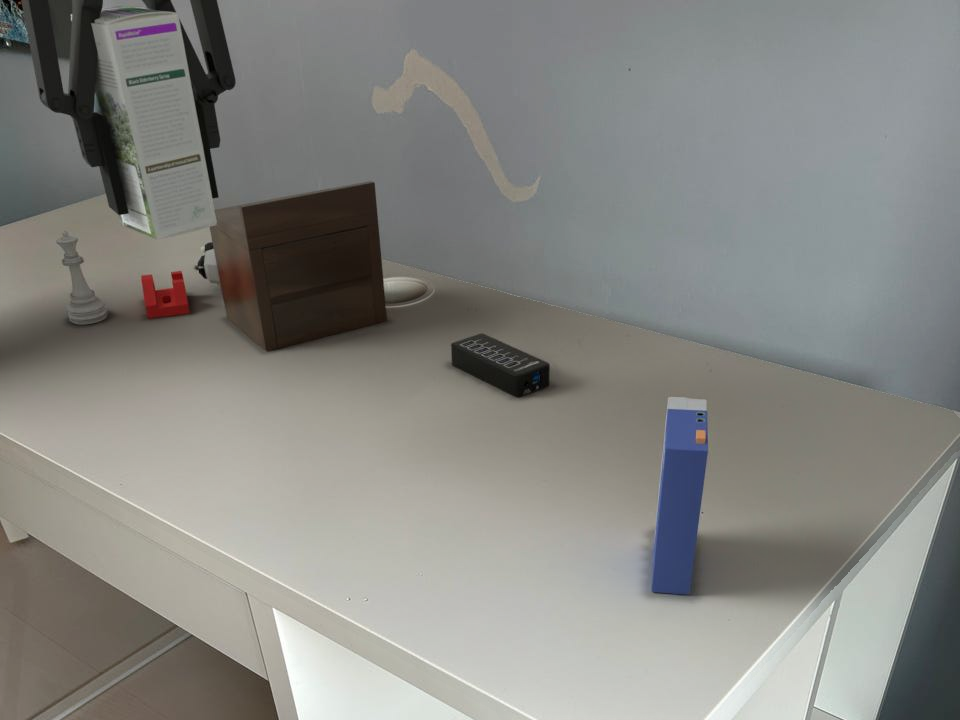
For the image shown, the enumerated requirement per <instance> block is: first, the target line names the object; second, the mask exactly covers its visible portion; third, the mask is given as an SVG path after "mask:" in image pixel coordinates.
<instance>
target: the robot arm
mask: <svg viewBox="0 0 960 720" xmlns="http://www.w3.org/2000/svg"><path fill="white" fill-rule="evenodd" d="M20 1H21V6H22V12H23V16H24V22H25V27H26V28H25V29H26V33H27V39H28V44H29V48H30V49H29V50H30V54H31V60H32V65H33V70H34V75H35V76H34V77H35V80H36V81H35V82H36V87H37V91H38V97H39V100H40V102H41V104H42V105H43V106H45V107H46V108H48V109H49V110H50V111H52V112H54V113H57V114H63V115H67V116H70V118H71V119H72V121H73V125H74V130H75V133H76V138H77V142H78V145H79V149H80V152H81V157H82V159H83V160H84V161H85V163H86V164H87V165H88V166H90V167H91V168H97V167H98V168H99V172H100V176H101V180H102V184H103V188H104V192H105V197H106V200H107V204H108V208H110V209H111V210H112V211H113V212H114V213H116V214H117V215H118V216H119V215H123V214H129V212H128V208H127V204H126V200H125V195H124V191H123V187H122V183H121V178H120V174H119V170H118V166H117V161H116V157H115V153H114V149H113V144H112V140H111V136H110V132H109V127H108V123H107V119H106V118H105V117H103V116H102V115H100V114H98V113H97V112H94V100H95V85H96V69H97V54H98V51H97V47H96V43H95V38H94V34H93V29H92V25H91V23H95V20H96V19H99V18H100V13H101V11H102V8H103V5H104V0H71V4H72V11H71V12H72V13H71V14H72V21H71V27H70V28H71V29H70V48H69V49H70V50H69V67H68V68H69V69H68V84H67V85H68V86H67V87H68V89H67V93H66V92H64V86H63V80H62V75H61V74H62V73H61V69H60V68H61V67H60V63H59V57H58V53H57V52H58V51H57V46H56V40H55V34H54V29H53V23H52V17H51V11H50V5H49V0H20ZM141 1H142V2H143V4H144V5H145V6H146V7H145V8H148V9H152V10H156V11H170V12H176V13H177V11H176V9H175V6H174V5H173V2H172V0H141ZM189 2H190V6H191V10H192V15H193V18H194V22H195V26H196V31H197V34H198V38H199V42H200V46H201V50H202V54H203V58H204V62H205V66H206V71H207V73H206V71H205V69H204V66H203V64H202V63H201V60H200V59H199V56H198V54H197V53H196V50H195V49H194V46H193V44H192V42H191V40H190V38H189V35H188V33H187V31H186V30H185V27H184V25H183V23H182V21H181V19H180V18H179V21H180V27H181V32H182V37H183V42H184V48H185V53H186V59H187V64H188V69H189V75H190V80H191V86H192V91H193V97H194V102H195V107H196V113H197V118H198V123H199V129H200V134H201V139H202V144H203V150H204V155H205V161H206V166H207V172H208V177H209V182H210V188H211V194H212V199H219V191H218V185H217V180H216V175H215V168H214V164H213V158H212V157H213V156H212V153H211V150H212V149H216V148H218V149H219V148H220V145H221V136H220V135H221V134H220V129H219V123H218V118H217V112H216V106H215V104H216V103H217V102H218V100H219V95H221V94H223V93H224V92H226V91H231V90H233V89H234V88H235V86H236V84H237V80H236V76H235V71H234V67H233V63H232V59H231V54H230V50H229V46H228V42H227V37H226V33H225V29H224V25H223V20H222V16H221V12H220V8H219V3H218V0H189Z"/></svg>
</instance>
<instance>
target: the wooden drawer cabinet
mask: <svg viewBox="0 0 960 720" xmlns="http://www.w3.org/2000/svg"><path fill="white" fill-rule="evenodd" d="M376 192H377V191H376V183H375V182H374V181H373V180H369V181H363V182H358V183H352V184H347V185H341V186H336V187H332V188H331V187H329V188H324V189H318V190H314V191H307V192H302V193H297V194H293V195H287V196H286V195H285V196H281V197H275V198H271V199H265V200H260V201H254V202H249V203H244V204H239V205H234V206H227V207H221V208H216V209H214V210H215V215H216V221H217V223H216V224H217V225H214V226H211V227H209V232H210V237H211V242H212V243H213V248H214V253H215V258H216V263H217V268H218V274H219V279H220V284H221V286H220V289H221V293H222V299H223V303H224V310H225V314H226V318H227V319H228V321H230V322H231V323H232V324H234V325H235V326H236V327H237V328H238V329H239V330H241V331H242V332H243V333H244V334H245V335H246V336H247V337H249V338H250V339H251V340H252V341H253V342H255V343H256V344H257V345H258V346H259V347H261V348H262V349H263V350H264V351H265V352H269V351H273V350H276V349H281V348H285V347H288V346H293V345H296V344H300V343H305V342H308V341H313V340H317V339H320V338H325V337H328V336H332V335H336V334H340V333H344V332H348V331H353V330H356V329H361V328H364V327H367V326H372V325H376V324H380V323H385V322H387V321H388V317H387V316H388V315H387V305H386V294H385V282H384V274H383V273H384V271H383V261H382V250H381V249H382V248H381V236H380V226H379V218H378V217H379V215H378V205H377V203H378V202H377V193H376Z"/></svg>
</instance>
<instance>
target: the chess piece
mask: <svg viewBox="0 0 960 720" xmlns="http://www.w3.org/2000/svg"><path fill="white" fill-rule="evenodd" d="M61 235H62V236H61V237H58V238H56V240H55V242H56V245H58V246H59V247H60V248H61V249H62V251H63V252H64V254H63V256H64V257H63V259H62V260H61V263H62V265H63V266H64V267H68V269H69V273H70V278H71V289H72V291H71V293H69V297H70V301H69V302H68V304H67V306H66V310H67V313H68V315H67V316H68V319H69V322H71V323H72V324H75V325H83V326H84V325H92V324H96V323H99V322H102V321H104V320H106V318H108V315H109V312H108V310H107V308H106V304H105V301H104V300H103V299H101V298H100V297H98V296H97V295H96V292H95V290H93V289H91V288H90V286H89V284H88V283H87V280H86V277H85V276H84V273H83V270H82V267H81V265H82V264H83V263H84V262H85V260H84V257H83V256H81V255H79V252H78V251H77V245H78V241H79V238H78V237H77V236H76V235H69V232H68V231H67V230H63V231H62V233H61Z"/></svg>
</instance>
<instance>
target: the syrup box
mask: <svg viewBox="0 0 960 720" xmlns="http://www.w3.org/2000/svg"><path fill="white" fill-rule="evenodd" d="M179 19H180V16H179V14H178V12H177V11H176V12H170V11H156V10H152V9H148V8H147V7H143V6H134V5H127V6H125V5H121V6H120V5H119V6H118V5H117V6H108V7H102V11H101V13H100V18H99V19H96V20H95V23H91V25H92V29H93V34H94V38H95V43H96V47H97V51H98V54H97V69H96V85H95V100H94V112H97V113H98V114H100V115H102V116H103V117H105V118H106V119H107V123H108V127H109V132H110V136H111V140H112V144H113V149H114V153H115V157H116V161H117V166H118V170H119V174H120V178H121V183H122V187H123V191H124V195H125V200H126V204H127V208H128V212H129V214H123V215H118V217H119V223H120V225H121V226H123V227H125V228H128V229H131V230H132V231H133V230H134V231H135V232H137V233H140V234H143V235H145V236H147V237H150V238H153V239H155V240H161V239H168V238H172V237H177V236H181V235H185V234H189V233H193V232H197V231H201V230H204V229H207V228H210V227H211V226H214V225H217V224H216V223H217V221H216V215H215V210H216V209H215V205H214V200H213V199H214V198H213V199H212V194H211V188H210V182H209V177H208V172H207V166H206V161H205V155H204V150H203V144H202V139H201V134H200V129H199V123H198V118H197V113H196V107H195V102H194V97H193V91H192V86H191V80H190V75H189V69H188V64H187V59H186V53H185V48H184V42H183V37H182V32H181V27H180V21H181V20H180V21H179ZM70 21H71V22H72V13H70Z"/></svg>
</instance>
